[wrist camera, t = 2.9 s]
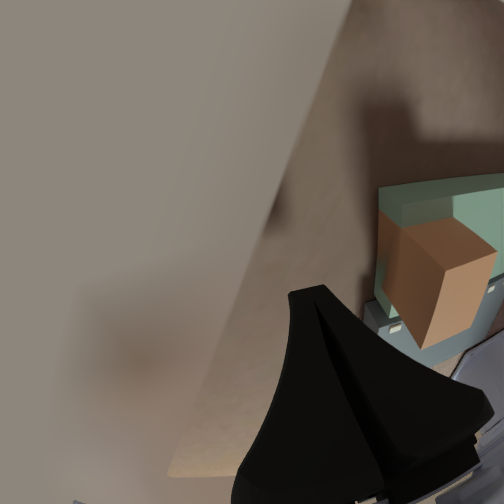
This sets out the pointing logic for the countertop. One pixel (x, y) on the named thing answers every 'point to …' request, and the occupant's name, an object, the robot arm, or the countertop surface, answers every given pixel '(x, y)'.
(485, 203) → the pale green flat slab
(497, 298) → the white-dotted slate slab
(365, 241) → the countertop surface
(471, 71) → the countertop surface
